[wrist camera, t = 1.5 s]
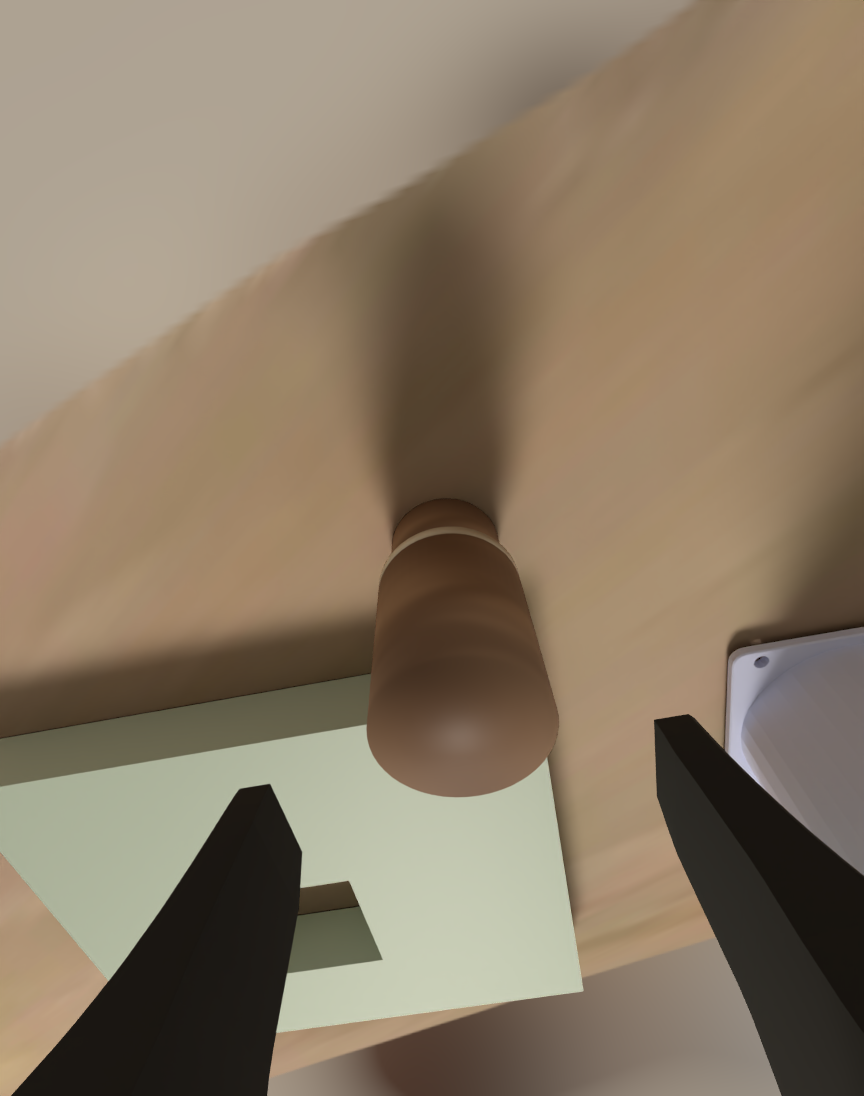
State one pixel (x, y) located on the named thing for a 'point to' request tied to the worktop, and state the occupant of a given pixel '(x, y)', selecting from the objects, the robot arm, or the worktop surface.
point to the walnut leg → (456, 660)
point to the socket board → (325, 840)
